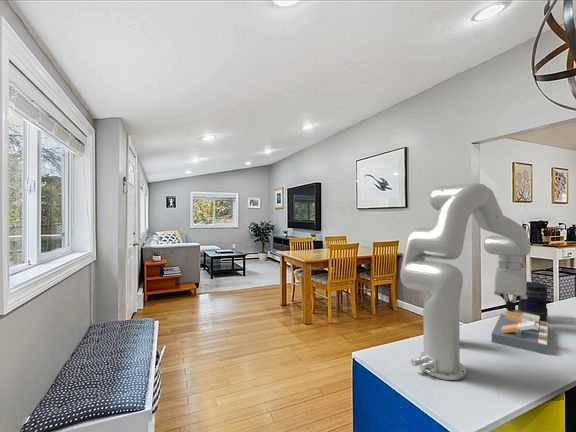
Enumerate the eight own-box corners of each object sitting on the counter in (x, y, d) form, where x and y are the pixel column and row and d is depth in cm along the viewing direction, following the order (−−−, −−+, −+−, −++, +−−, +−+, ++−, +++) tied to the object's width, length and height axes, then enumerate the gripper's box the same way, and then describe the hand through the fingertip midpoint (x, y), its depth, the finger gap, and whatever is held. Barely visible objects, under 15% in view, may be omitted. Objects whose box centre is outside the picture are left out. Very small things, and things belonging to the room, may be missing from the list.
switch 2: (537, 332, 106) (538, 327, 106) (503, 320, 113) (505, 315, 112) (537, 328, 110) (539, 323, 109) (505, 316, 116) (506, 311, 116)
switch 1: (538, 324, 112) (539, 319, 112) (506, 315, 119) (506, 311, 119) (539, 320, 116) (539, 315, 115) (507, 312, 122) (507, 308, 122)
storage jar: (512, 317, 130) (512, 283, 130) (526, 313, 134) (526, 280, 134) (539, 324, 121) (538, 288, 121) (553, 321, 125) (552, 285, 125)
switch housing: (547, 354, 96) (547, 339, 96) (491, 341, 106) (491, 327, 106) (548, 329, 116) (548, 317, 116) (501, 321, 126) (500, 309, 126)
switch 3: (537, 330, 100) (534, 324, 101) (503, 335, 106) (500, 329, 107) (537, 326, 104) (534, 320, 104) (505, 331, 110) (502, 326, 110)
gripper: (534, 266, 117) (535, 312, 118) (489, 262, 127) (489, 305, 128) (533, 269, 112) (534, 318, 112) (486, 265, 122) (486, 310, 122)
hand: (510, 311), depth 120 cm, fingers closed
